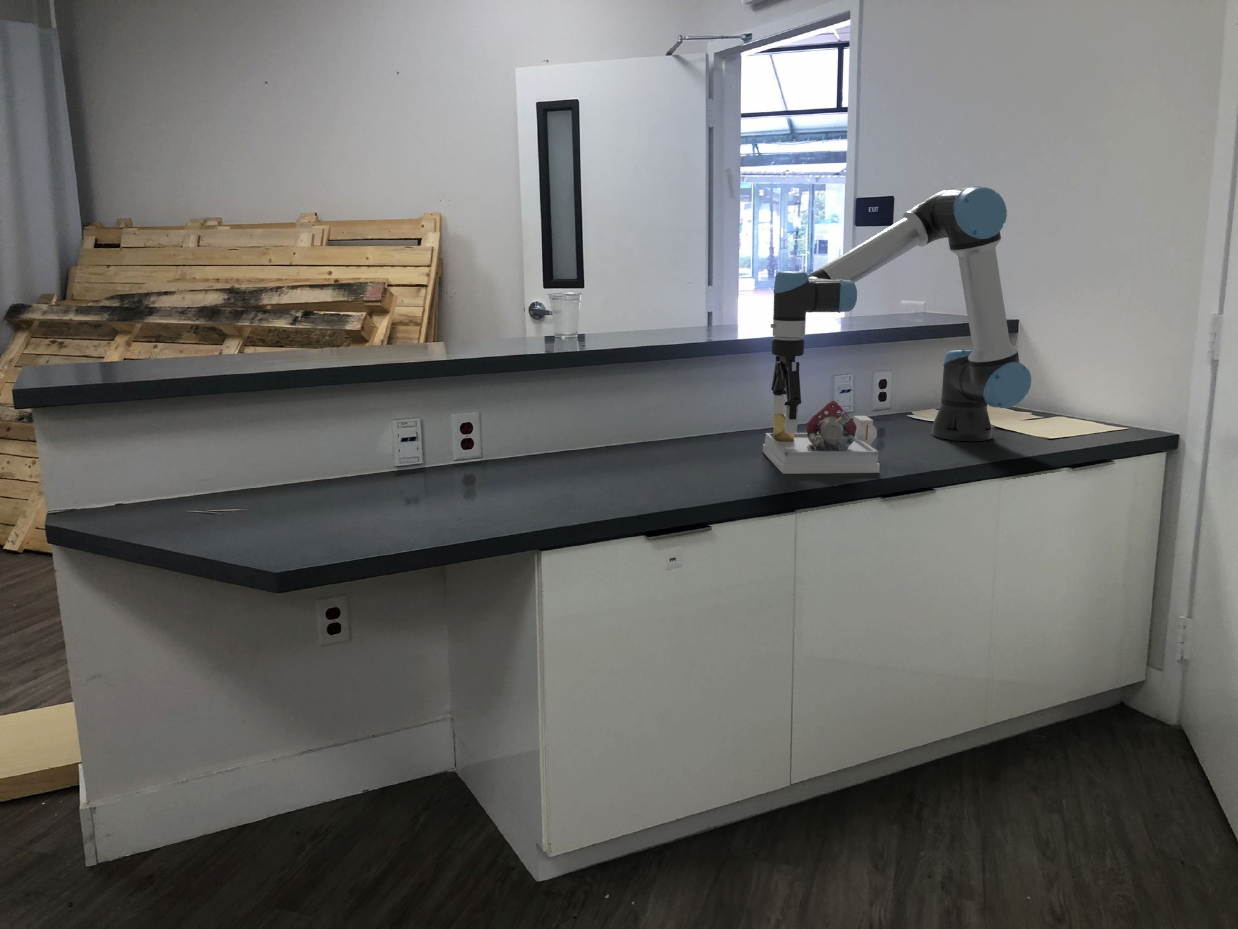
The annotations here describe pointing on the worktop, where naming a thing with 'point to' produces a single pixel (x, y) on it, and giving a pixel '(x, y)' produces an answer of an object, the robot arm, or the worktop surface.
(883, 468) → the worktop surface
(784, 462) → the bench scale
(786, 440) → the brass spacer
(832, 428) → the brake caliper
